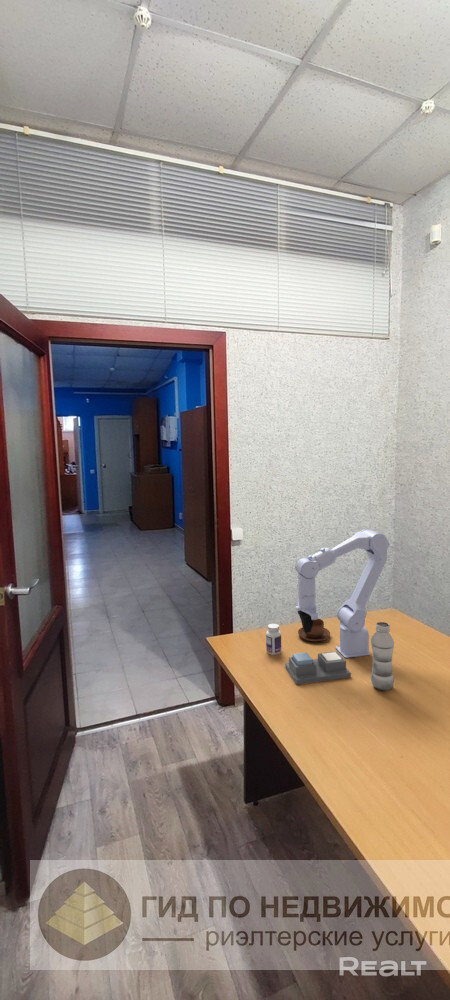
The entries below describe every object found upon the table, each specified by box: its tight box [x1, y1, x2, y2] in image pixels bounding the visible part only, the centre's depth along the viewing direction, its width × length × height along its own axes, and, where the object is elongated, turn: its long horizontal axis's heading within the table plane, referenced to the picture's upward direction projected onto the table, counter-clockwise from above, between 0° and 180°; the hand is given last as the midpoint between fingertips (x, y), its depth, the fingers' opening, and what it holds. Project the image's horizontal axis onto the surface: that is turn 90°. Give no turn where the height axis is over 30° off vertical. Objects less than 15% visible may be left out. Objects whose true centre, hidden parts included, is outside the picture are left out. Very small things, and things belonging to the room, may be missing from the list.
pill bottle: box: [265, 623, 283, 656], centre depth 159 cm, size 5×5×10 cm
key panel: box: [284, 650, 352, 686], centre depth 144 cm, size 18×11×4 cm, turn 100°
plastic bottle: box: [370, 621, 395, 691], centre depth 133 cm, size 6×7×20 cm
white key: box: [322, 651, 342, 662], centre depth 145 cm, size 5×5×3 cm
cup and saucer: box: [297, 618, 331, 642], centre depth 170 cm, size 12×12×6 cm
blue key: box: [292, 652, 313, 666], centre depth 143 cm, size 5×5×3 cm
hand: (307, 631), depth 153 cm, fingers closed
